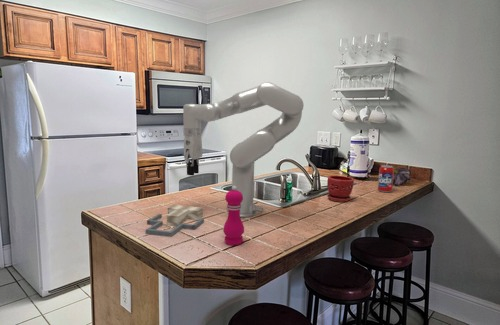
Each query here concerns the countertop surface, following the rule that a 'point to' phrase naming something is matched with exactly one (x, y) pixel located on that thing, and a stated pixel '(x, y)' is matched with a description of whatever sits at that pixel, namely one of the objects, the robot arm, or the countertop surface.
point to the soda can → (385, 178)
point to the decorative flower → (401, 176)
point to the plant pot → (339, 188)
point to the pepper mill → (233, 218)
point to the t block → (183, 214)
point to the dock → (157, 224)
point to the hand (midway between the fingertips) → (192, 173)
